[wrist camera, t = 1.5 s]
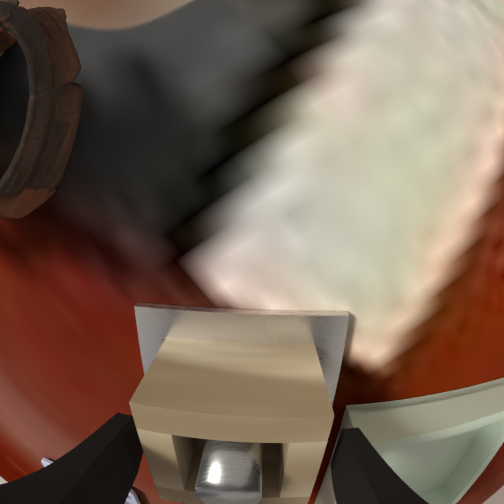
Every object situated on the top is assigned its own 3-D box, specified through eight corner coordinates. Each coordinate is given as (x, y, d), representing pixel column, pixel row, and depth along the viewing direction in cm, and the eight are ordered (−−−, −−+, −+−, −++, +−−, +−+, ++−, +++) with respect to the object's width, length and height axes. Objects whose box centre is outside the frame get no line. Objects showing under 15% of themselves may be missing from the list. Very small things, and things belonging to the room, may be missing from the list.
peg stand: (318, 449, 13) (332, 535, 8) (162, 440, 13) (133, 521, 8) (347, 311, 11) (399, 402, 6) (138, 302, 11) (66, 380, 6)
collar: (298, 441, 12) (305, 508, 8) (180, 435, 12) (160, 498, 9) (314, 344, 11) (334, 415, 7) (166, 337, 11) (129, 402, 7)
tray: (443, 483, 14) (453, 506, 12) (312, 509, 15) (315, 538, 12) (504, 377, 12) (527, 400, 9) (346, 405, 12) (358, 445, 10)
